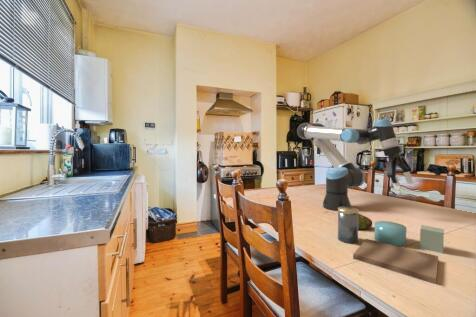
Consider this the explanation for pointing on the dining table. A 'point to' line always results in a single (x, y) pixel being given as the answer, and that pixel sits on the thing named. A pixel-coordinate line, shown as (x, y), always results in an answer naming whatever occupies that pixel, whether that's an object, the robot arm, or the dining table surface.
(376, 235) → the teal domed cylinder
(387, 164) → the robot arm
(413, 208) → the dining table surface
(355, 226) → the tea tin
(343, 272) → the dining table surface
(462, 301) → the dining table surface
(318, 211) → the dining table surface
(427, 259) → the walnut board
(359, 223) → the potato
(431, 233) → the sage box
